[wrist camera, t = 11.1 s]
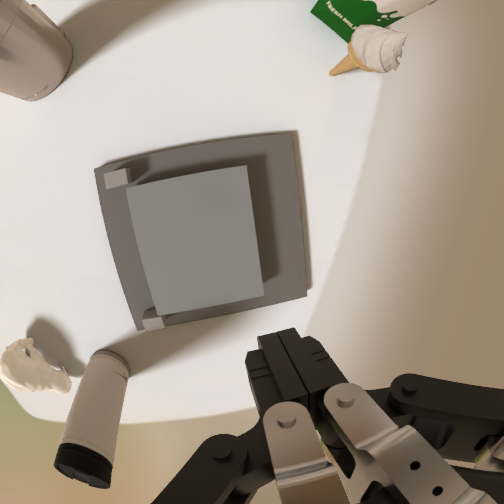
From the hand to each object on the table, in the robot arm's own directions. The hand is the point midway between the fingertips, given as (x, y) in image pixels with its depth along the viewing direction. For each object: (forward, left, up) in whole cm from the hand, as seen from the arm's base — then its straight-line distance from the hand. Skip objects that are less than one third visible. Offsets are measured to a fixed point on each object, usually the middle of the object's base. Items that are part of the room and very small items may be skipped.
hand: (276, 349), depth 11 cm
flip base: (0, -2, -22) cm, 22 cm away
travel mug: (+16, -20, -22) cm, 34 cm away
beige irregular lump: (+14, -32, -22) cm, 41 cm away
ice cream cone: (-18, +16, -22) cm, 33 cm away
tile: (0, -9, -20) cm, 22 cm away
